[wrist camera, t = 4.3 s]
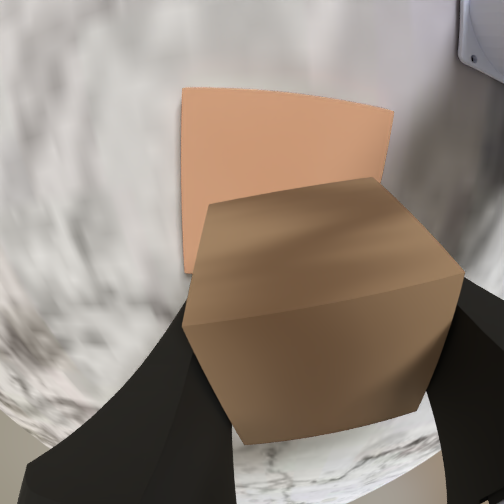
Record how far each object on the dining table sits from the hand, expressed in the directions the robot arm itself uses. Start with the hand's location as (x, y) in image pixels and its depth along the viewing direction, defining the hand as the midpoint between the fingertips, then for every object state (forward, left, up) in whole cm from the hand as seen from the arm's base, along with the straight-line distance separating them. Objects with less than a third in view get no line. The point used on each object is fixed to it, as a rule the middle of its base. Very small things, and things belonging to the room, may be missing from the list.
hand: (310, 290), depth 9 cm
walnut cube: (0, 0, -2) cm, 2 cm away
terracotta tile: (0, 0, -8) cm, 8 cm away
